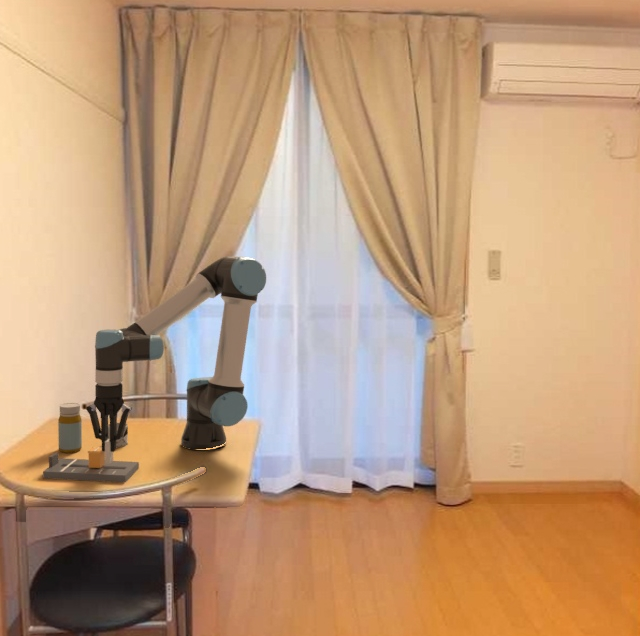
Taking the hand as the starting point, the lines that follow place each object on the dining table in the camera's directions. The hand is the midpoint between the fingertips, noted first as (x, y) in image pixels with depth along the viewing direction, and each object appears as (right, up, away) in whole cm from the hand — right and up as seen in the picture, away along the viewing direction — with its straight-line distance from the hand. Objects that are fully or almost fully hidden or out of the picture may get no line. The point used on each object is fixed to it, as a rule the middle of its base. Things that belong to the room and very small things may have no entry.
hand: (108, 461), depth 199 cm
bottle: (-19, -1, +21) cm, 29 cm away
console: (-5, -3, +1) cm, 6 cm away
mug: (-7, 0, +31) cm, 31 cm away
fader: (-4, -1, 0) cm, 4 cm away
